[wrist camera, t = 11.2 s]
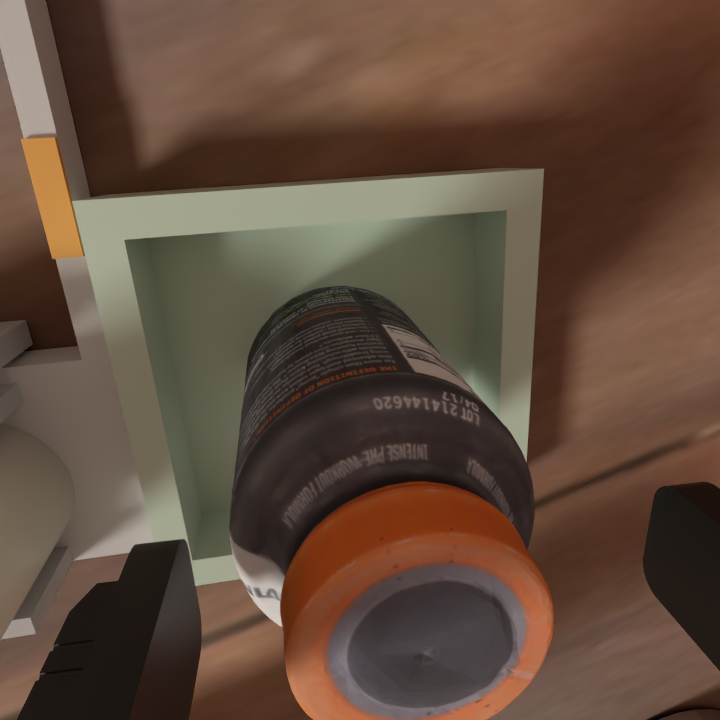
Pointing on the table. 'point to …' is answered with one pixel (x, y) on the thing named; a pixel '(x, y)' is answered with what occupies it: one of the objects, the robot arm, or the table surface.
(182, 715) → the robot arm
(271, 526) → the pill bottle
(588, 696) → the table surface
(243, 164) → the table surface
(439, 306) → the tray
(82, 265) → the block
